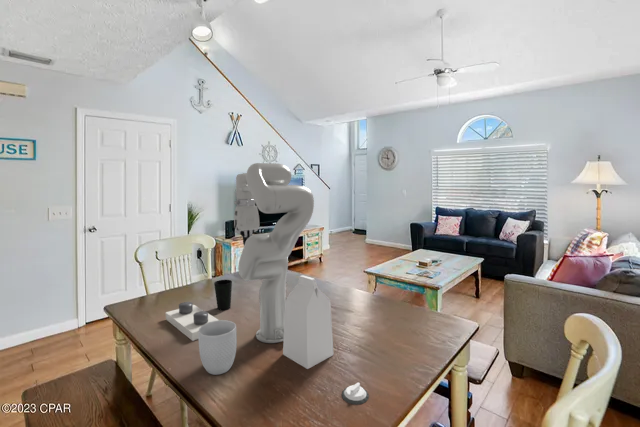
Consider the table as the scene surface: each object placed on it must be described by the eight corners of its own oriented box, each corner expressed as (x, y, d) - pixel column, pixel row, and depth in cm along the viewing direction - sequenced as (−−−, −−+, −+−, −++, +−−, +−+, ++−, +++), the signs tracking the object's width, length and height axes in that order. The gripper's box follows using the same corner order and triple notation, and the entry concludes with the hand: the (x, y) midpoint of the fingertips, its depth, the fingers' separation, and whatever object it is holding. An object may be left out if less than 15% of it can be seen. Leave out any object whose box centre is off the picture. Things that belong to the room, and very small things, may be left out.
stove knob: (336, 398, 87) (336, 388, 86) (350, 384, 92) (350, 375, 92) (360, 410, 82) (360, 399, 82) (374, 395, 88) (374, 384, 88)
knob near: (210, 329, 126) (210, 313, 125) (197, 333, 122) (197, 318, 122) (204, 324, 129) (204, 310, 129) (191, 329, 126) (191, 313, 125)
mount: (223, 330, 126) (223, 322, 125) (192, 341, 117) (192, 332, 117) (194, 311, 144) (194, 304, 144) (165, 319, 136) (165, 312, 136)
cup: (235, 305, 151) (234, 279, 150) (229, 311, 144) (228, 285, 142) (219, 304, 152) (218, 279, 151) (212, 311, 144) (211, 284, 143)
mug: (207, 353, 109) (206, 315, 107) (241, 351, 110) (240, 314, 109) (195, 380, 94) (193, 337, 93) (234, 378, 95) (233, 335, 94)
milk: (282, 354, 108) (281, 277, 106) (308, 342, 116) (308, 270, 114) (307, 369, 100) (306, 285, 97) (333, 354, 108) (333, 277, 105)
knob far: (195, 318, 136) (194, 304, 135) (182, 322, 132) (181, 307, 132) (189, 314, 139) (189, 300, 139) (177, 318, 136) (176, 304, 135)
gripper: (234, 204, 131) (236, 249, 133) (265, 202, 142) (266, 244, 144) (225, 203, 137) (226, 247, 139) (255, 201, 147) (256, 242, 149)
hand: (247, 245), depth 141 cm, fingers closed
